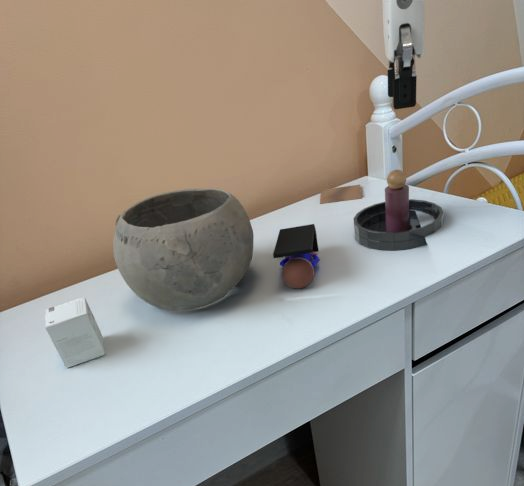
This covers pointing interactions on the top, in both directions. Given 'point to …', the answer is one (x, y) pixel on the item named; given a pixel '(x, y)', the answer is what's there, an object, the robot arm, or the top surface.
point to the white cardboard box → (74, 332)
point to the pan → (375, 236)
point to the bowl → (183, 247)
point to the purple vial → (397, 202)
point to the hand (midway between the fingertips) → (401, 101)
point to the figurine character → (297, 254)
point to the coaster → (340, 194)
